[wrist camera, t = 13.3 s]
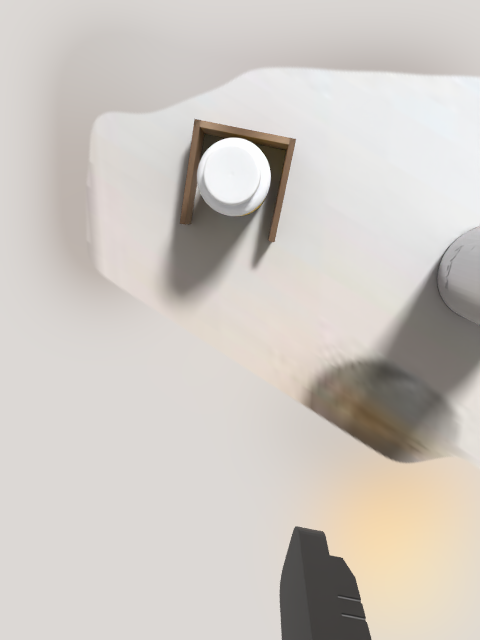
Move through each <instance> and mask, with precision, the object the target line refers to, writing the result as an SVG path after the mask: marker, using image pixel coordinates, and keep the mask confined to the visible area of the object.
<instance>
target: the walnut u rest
mask: <svg viewBox="0 0 480 640" xmlns="http://www.w3.org/2000/svg"><path fill="white" fill-rule="evenodd" d="M204 134H208V135H213V136H218V137H223V138H241V139H245V140H247V141H250V142H251V143H253V144H259V145H264V146H269V147H274V148H279V149H284V150H286V154H285V159H284V164H283V169H282V174H281V179H280V184H279V188H278V193H277V198H276V203H275V208H274V213H273V218H272V222H271V227H270V232H269V237H268V240H269V241H271V242H274V241H275V237H276V232H277V227H278V222H279V218H280V213H281V208H282V203H283V199H284V194H285V189H286V184H287V180H288V175H289V170H290V165H291V161H292V156H293V151H294V146H295V141H296V139H292V138H287V137H282V136H277V135H272V134H267V133H262V132H257V131H252V130H247V129H242V128H237V127H232V126H227V125H222V124H217V123H212V122H207V121H202V120H197V119H195V121H194V128H193V135H192V142H191V149H190V156H189V163H188V170H187V177H186V184H185V191H184V197H183V204H182V211H181V218H180V224H185V225H186V224H191V220H192V213H193V207H194V200H195V193H196V187H197V170H198V166H199V163H200V160H201V154H202V147H203V141H204Z"/></svg>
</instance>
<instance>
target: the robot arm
mask: <svg viewBox="0 0 480 640" xmlns="http://www.w3.org/2000/svg"><path fill="white" fill-rule="evenodd" d="M438 288H439V292H440V295H441V297H442V299H443V301H444V302H445V304H446V305H447V306H448V307H449V308H450V309H451V310H452V311H454V312H455V313H457V314H458V315H460V316H462V317H464V318H466V319H468V320H470V321H472V322H474V323H476V324H478V325H479V326H480V226H479V227H476V228H474V229H472V230H470V231H467V232H466V233H464V234H463V235H461V236H460V237H459V238H457V239H456V240H455V241H454V242H453V243H452V244H451V245H450V247H449V248H448V250H447V251H446V252H445V254H444V256H443V258H442V260H441V263H440V266H439V270H438ZM280 612H281V629H282V640H371V636H370V633H369V628H368V625H367V622H366V621H365V618H366V617H365V613H364V609H363V606H362V604H361V598H360V594H359V590H358V587H357V583H356V579H355V577H354V575H353V574H352V572H351V571H350V569H349V567H348V566H347V564H346V563H345V561H344V560H343V558H340V557H335V556H330V555H329V551H328V546H327V541H326V536H325V534H324V532H323V531H317V530H312V529H307V528H302V527H295V528H294V531H293V534H292V537H291V541H290V544H289V548H288V552H287V555H286V559H285V563H284V566H283V570H282V575H281V582H280Z"/></svg>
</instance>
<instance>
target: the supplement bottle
mask: <svg viewBox="0 0 480 640" xmlns="http://www.w3.org/2000/svg"><path fill="white" fill-rule="evenodd" d="M270 181H271V172H270V167H269V164H268V161H267V159H266V157H265V155H264V154H263V152H262V151H261V150H260V149H259V148H258V147H257V146H256V145H254V144H253V143H251V142H250V141H247V140H245V139H241V138H226V139H223V140H220V141H218V142H216V143H214V144H213V145H212V146H211V147H209V148H208V149H207V151H206V152H205V153H204V155H203V156H202V158H201V160H200V163H199V166H198V170H197V183H198V188H199V191H200V193H201V196H202V197H203V199H204V200H205V202H206V203H207V204H208V205H209V206H210V207H211V208H212V209H214V210H215V211H217V212H219V213H221V214H224V215H228V216H244V215H248V214H250V213H252V212H254V211H255V210H257V209H258V208H259V207H260V206H261V205H262V204H263V202H264V200H265V198H266V196H267V193H268V191H269V187H270Z"/></svg>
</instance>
